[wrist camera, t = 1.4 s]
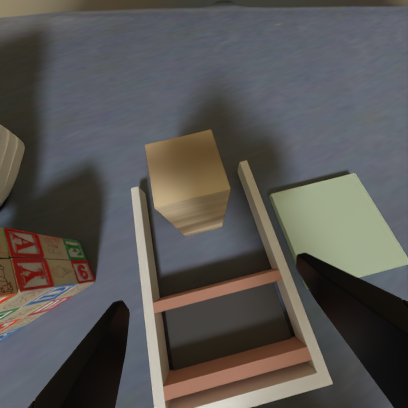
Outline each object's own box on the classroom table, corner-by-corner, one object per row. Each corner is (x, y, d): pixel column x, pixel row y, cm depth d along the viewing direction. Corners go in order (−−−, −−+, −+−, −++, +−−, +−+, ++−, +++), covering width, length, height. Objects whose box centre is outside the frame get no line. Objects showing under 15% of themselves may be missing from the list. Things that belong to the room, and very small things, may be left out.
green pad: (402, 263, 20) (411, 263, 19) (305, 289, 20) (310, 290, 19) (349, 176, 24) (355, 172, 23) (268, 196, 24) (270, 193, 23)
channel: (316, 367, 17) (332, 384, 15) (164, 410, 17) (156, 434, 15) (243, 169, 25) (246, 160, 23) (138, 195, 25) (131, 188, 22)
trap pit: (299, 346, 18) (312, 359, 16) (171, 382, 18) (164, 401, 15) (271, 268, 21) (279, 269, 18) (159, 298, 20) (152, 302, 18)
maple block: (221, 227, 23) (230, 189, 11) (185, 236, 22) (154, 207, 11) (212, 193, 24) (211, 129, 12) (178, 202, 24) (145, 144, 12)
